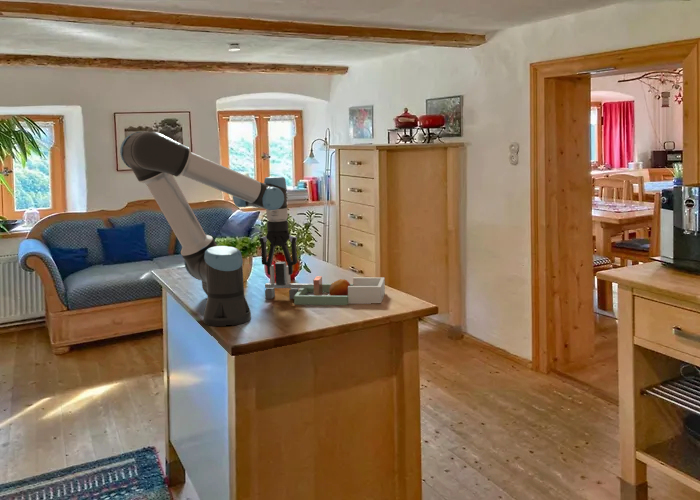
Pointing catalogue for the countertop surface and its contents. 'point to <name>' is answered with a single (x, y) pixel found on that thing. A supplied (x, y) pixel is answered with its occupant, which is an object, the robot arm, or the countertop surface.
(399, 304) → the countertop surface
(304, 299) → the pitch
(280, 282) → the kicker rod
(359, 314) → the countertop surface
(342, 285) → the fruit
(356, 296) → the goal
